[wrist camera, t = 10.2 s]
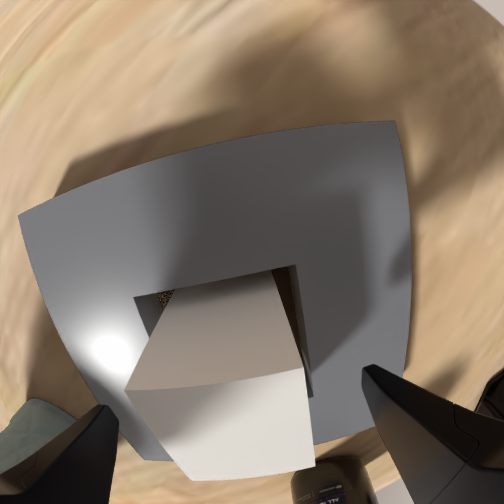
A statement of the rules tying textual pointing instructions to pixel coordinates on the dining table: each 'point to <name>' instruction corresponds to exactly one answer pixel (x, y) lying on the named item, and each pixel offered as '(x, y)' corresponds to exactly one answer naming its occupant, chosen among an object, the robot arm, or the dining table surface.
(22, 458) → the teal cup
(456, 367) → the dining table surface
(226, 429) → the plug
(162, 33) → the dining table surface
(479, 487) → the robot arm
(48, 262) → the socket
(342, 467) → the supplement bottle
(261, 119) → the dining table surface
